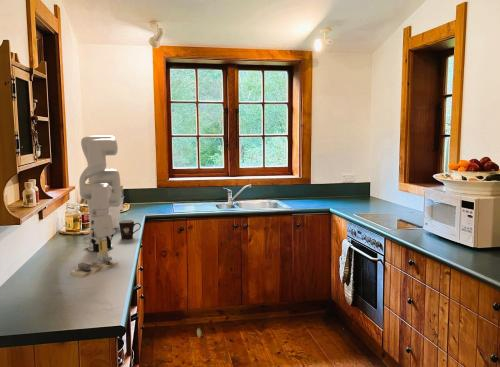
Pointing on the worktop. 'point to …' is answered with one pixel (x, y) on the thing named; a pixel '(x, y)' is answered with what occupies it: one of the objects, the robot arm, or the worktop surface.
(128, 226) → the coffee mug
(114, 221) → the cup
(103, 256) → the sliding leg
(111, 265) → the board
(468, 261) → the worktop surface
